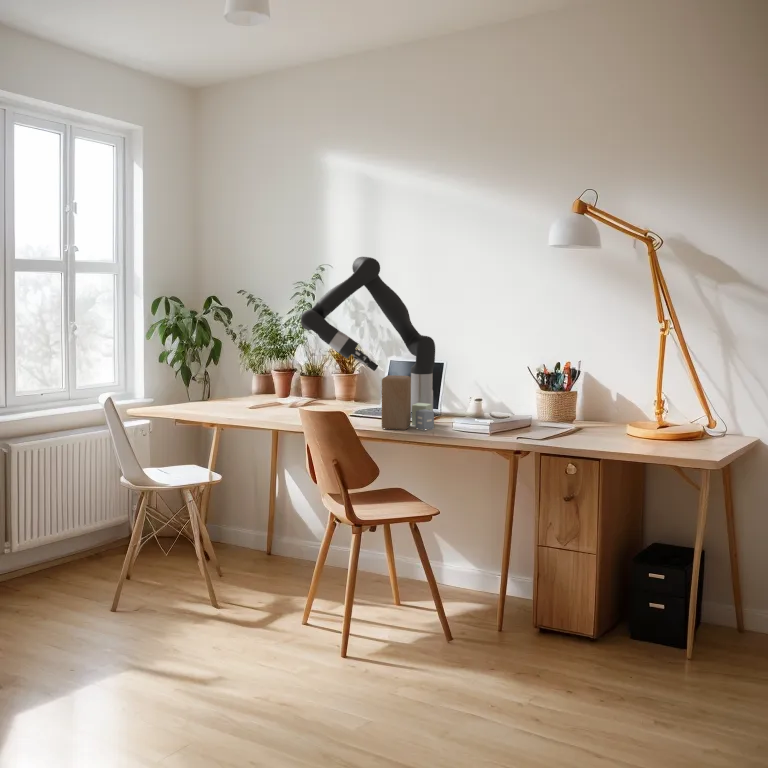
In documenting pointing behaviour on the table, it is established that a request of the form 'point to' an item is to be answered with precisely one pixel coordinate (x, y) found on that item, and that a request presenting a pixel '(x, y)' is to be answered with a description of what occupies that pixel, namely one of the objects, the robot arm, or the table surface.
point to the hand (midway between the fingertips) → (376, 368)
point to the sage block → (419, 407)
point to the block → (396, 402)
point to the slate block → (425, 419)
